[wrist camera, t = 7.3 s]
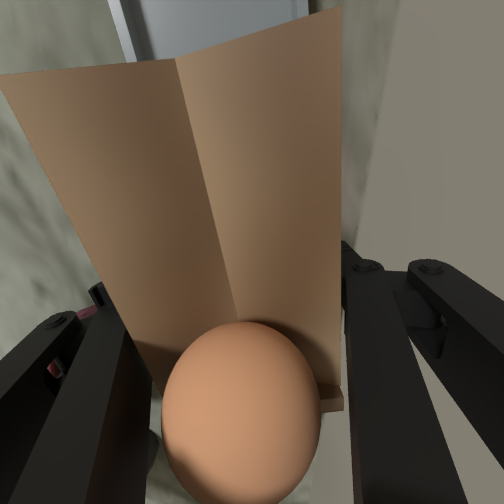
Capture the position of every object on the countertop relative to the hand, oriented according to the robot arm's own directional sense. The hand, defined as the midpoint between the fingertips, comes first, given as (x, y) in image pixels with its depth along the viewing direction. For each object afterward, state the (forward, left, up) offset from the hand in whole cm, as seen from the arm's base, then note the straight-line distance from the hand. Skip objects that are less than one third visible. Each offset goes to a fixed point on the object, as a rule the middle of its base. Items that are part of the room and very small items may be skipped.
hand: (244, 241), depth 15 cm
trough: (0, +2, 0) cm, 2 cm away
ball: (0, -1, +10) cm, 10 cm away
